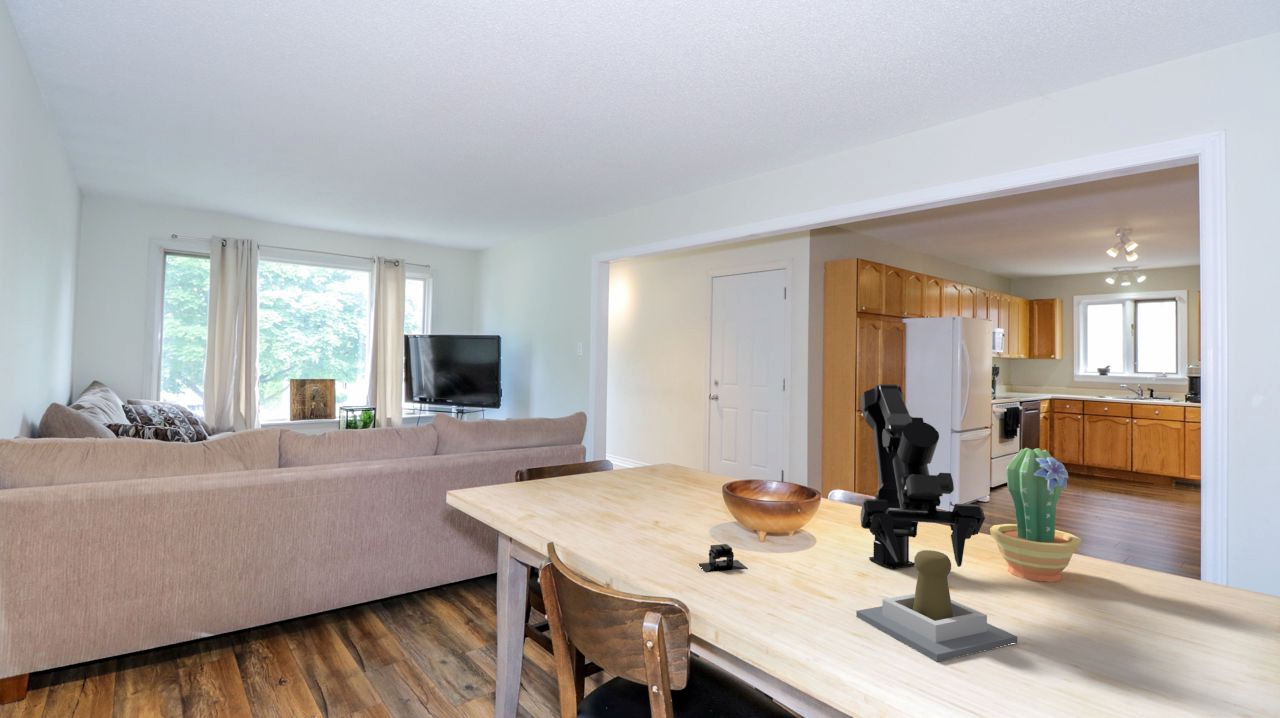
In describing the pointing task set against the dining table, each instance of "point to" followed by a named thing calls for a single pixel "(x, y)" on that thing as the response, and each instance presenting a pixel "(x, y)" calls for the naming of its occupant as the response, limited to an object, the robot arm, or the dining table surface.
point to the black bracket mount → (722, 565)
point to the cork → (932, 585)
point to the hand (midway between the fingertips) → (928, 563)
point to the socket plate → (936, 629)
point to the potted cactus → (1035, 518)
